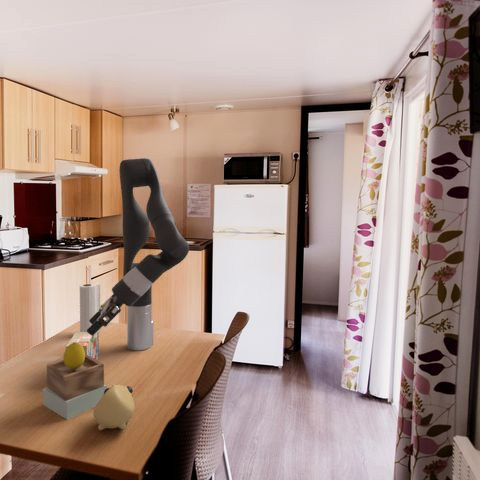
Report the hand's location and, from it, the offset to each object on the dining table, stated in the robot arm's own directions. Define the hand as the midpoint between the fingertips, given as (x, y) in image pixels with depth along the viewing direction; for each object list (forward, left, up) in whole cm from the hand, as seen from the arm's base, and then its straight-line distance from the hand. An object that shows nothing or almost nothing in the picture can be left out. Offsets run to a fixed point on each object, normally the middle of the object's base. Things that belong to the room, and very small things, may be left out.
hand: (90, 328), depth 106 cm
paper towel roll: (-32, -48, -22) cm, 62 cm away
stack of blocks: (-12, -21, -22) cm, 32 cm away
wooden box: (+3, -3, -17) cm, 17 cm away
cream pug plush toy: (+3, +15, -22) cm, 26 cm away
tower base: (+3, -3, -22) cm, 22 cm away
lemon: (+3, -3, -12) cm, 13 cm away
